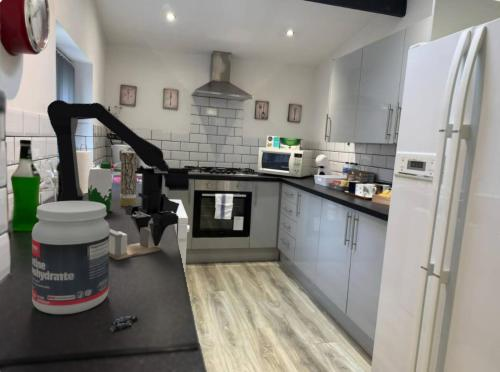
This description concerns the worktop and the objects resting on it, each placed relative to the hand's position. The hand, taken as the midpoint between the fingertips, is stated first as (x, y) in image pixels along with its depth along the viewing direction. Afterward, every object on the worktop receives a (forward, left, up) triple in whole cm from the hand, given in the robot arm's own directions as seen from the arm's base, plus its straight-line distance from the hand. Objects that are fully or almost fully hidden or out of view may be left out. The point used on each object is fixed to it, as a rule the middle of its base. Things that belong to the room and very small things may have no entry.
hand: (150, 243), depth 100 cm
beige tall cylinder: (+26, +59, -2) cm, 64 cm away
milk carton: (+11, +55, -2) cm, 56 cm away
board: (-6, 0, -1) cm, 6 cm away
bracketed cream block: (-10, 0, -1) cm, 10 cm away
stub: (0, 0, -1) cm, 1 cm away
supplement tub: (-29, -20, -2) cm, 36 cm away
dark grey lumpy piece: (-27, -34, -2) cm, 44 cm away
